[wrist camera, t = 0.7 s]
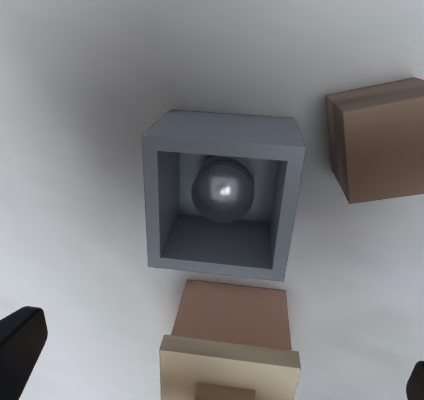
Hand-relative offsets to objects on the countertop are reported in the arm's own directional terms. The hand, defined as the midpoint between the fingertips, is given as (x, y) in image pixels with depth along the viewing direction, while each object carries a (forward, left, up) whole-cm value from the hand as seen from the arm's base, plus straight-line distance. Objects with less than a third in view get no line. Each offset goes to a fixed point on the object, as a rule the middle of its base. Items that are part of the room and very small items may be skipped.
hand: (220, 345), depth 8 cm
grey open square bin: (0, +1, -12) cm, 12 cm away
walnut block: (+3, -6, -12) cm, 14 cm away
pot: (-11, 0, -12) cm, 17 cm away
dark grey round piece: (0, +1, -12) cm, 12 cm away
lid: (-11, 0, -7) cm, 13 cm away
